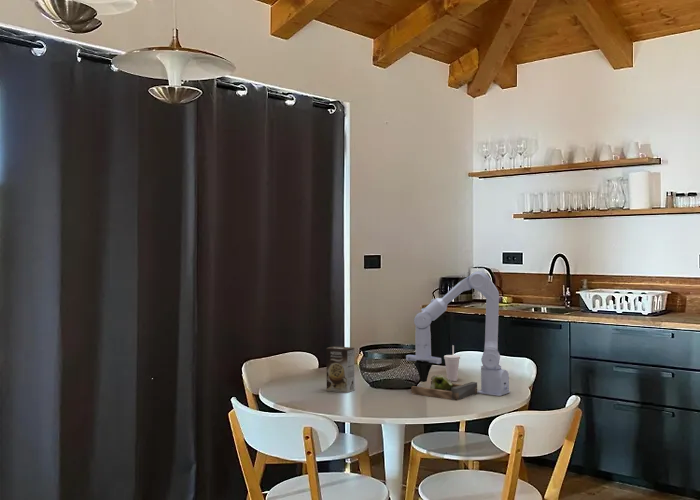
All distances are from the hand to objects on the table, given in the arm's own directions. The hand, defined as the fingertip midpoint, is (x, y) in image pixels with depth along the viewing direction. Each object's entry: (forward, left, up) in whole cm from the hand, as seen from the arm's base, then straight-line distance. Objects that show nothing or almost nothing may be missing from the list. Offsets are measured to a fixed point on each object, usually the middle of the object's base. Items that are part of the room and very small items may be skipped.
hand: (423, 381), depth 253 cm
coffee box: (+25, +18, -4) cm, 31 cm away
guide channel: (-9, 0, -3) cm, 10 cm away
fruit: (-7, -1, -4) cm, 8 cm away
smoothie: (+2, -23, -4) cm, 23 cm away
